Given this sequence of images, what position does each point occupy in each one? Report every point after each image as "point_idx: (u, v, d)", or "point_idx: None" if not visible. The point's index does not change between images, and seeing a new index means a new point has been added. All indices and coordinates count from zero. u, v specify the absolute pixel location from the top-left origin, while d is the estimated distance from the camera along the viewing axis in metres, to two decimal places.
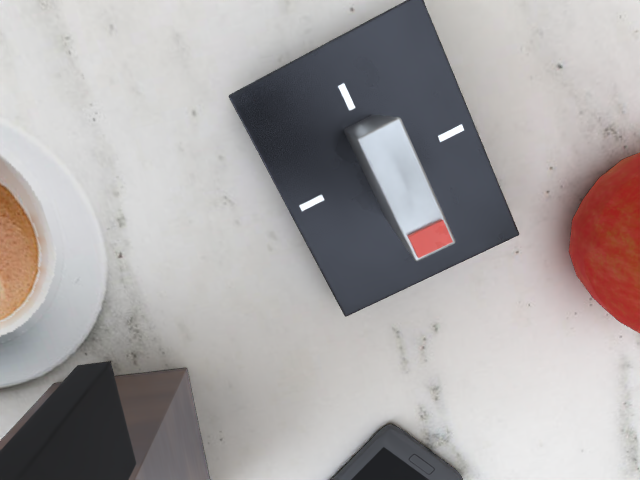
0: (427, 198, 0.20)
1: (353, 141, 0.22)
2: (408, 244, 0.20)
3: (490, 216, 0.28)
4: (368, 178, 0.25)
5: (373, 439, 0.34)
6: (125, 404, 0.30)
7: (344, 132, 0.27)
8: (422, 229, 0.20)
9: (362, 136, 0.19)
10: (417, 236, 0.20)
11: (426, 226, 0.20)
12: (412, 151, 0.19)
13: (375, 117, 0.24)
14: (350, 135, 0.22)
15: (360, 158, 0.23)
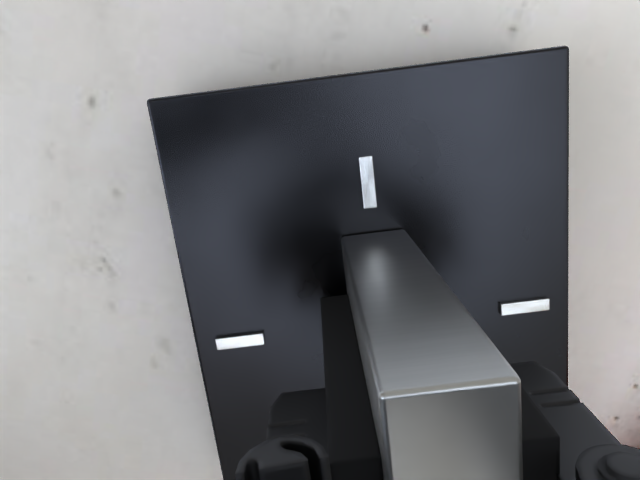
0: None
1: (356, 314, 0.10)
2: None
3: None
4: None
5: None
6: None
7: (341, 243, 0.14)
8: None
9: (395, 392, 0.06)
10: None
11: None
12: (516, 474, 0.07)
13: (415, 259, 0.11)
14: (354, 297, 0.10)
15: (357, 338, 0.11)
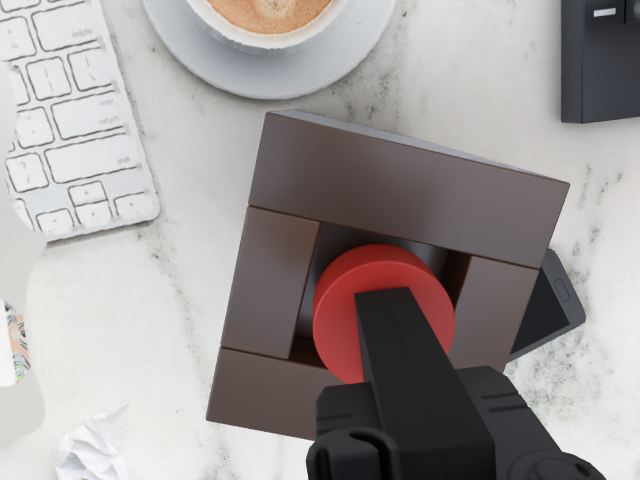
0: None
1: None
2: None
3: None
4: None
5: None
6: None
7: (628, 23, 0.33)
8: None
9: None
10: None
11: None
12: None
13: None
14: None
15: None
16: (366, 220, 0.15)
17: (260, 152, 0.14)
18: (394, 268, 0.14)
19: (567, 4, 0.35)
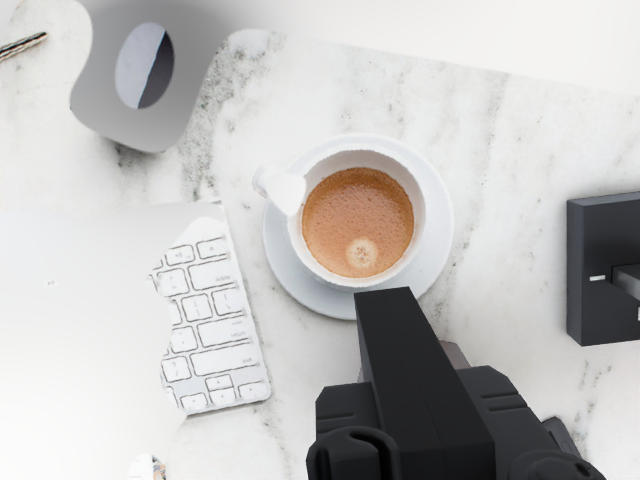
0: None
1: None
2: None
3: None
4: None
5: (544, 424, 0.54)
6: None
7: (614, 284, 0.47)
8: None
9: None
10: None
11: None
12: None
13: (631, 279, 0.44)
14: None
15: None
16: None
17: None
18: None
19: (571, 262, 0.49)
